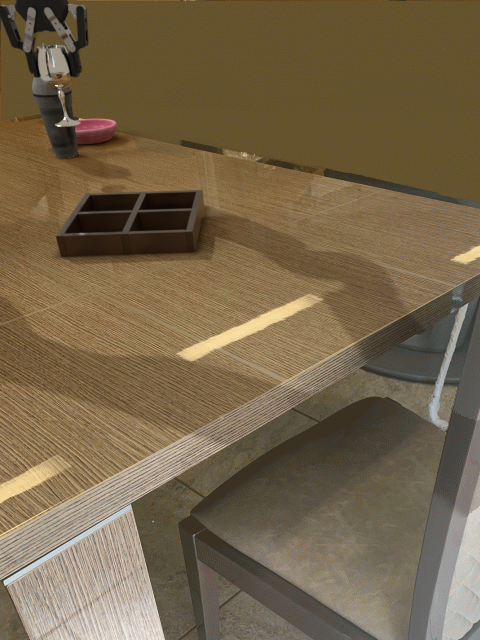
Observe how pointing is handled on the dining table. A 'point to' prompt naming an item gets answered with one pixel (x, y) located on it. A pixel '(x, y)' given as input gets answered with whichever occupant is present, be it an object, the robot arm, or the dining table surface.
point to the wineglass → (56, 74)
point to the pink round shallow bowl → (94, 130)
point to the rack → (133, 223)
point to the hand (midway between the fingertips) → (57, 76)
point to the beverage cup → (56, 117)
